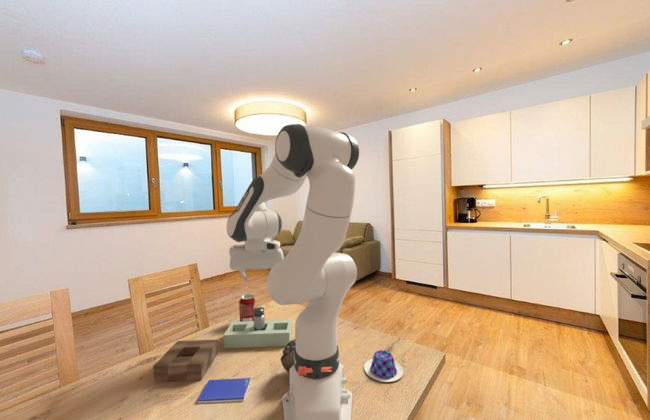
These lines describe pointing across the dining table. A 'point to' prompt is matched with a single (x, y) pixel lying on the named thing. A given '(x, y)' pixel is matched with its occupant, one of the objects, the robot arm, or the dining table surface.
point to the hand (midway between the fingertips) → (258, 280)
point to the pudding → (383, 367)
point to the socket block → (186, 361)
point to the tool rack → (258, 334)
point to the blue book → (225, 390)
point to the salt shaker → (259, 319)
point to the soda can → (247, 308)
